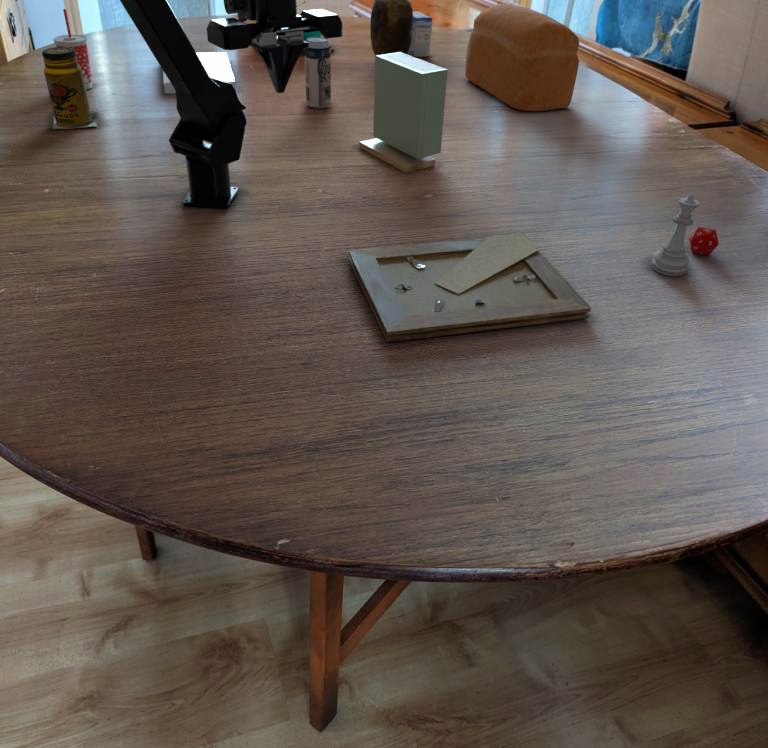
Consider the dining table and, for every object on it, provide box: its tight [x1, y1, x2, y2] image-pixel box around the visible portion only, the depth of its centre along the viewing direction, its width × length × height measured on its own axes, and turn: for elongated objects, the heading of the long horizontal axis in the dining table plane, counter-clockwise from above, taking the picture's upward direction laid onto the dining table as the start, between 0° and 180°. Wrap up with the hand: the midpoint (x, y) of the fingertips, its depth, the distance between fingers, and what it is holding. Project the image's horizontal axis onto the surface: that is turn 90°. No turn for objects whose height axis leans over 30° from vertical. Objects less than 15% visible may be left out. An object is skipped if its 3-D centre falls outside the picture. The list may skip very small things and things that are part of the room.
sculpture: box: [369, 0, 414, 57], centre depth 159 cm, size 13×8×20 cm, turn 15°
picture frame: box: [348, 232, 592, 343], centre depth 86 cm, size 19×2×24 cm
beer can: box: [304, 36, 332, 110], centre depth 137 cm, size 5×5×12 cm
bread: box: [464, 3, 580, 112], centre depth 148 cm, size 14×26×16 cm, turn 20°
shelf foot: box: [358, 137, 436, 174], centre depth 120 cm, size 6×13×1 cm, turn 36°
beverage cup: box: [53, 8, 94, 90], centre depth 140 cm, size 6×6×14 cm
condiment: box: [41, 46, 98, 130], centre depth 124 cm, size 7×8×12 cm
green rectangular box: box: [372, 52, 448, 159], centre depth 116 cm, size 5×12×13 cm, turn 36°
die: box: [688, 226, 720, 256], centre depth 96 cm, size 4×3×4 cm
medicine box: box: [407, 10, 433, 58], centre depth 174 cm, size 8×4×9 cm, turn 25°
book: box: [162, 51, 237, 95], centre depth 152 cm, size 23×14×2 cm, turn 14°
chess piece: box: [650, 193, 700, 277], centre depth 90 cm, size 4×4×10 cm
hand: (279, 92), depth 106 cm, fingers closed
